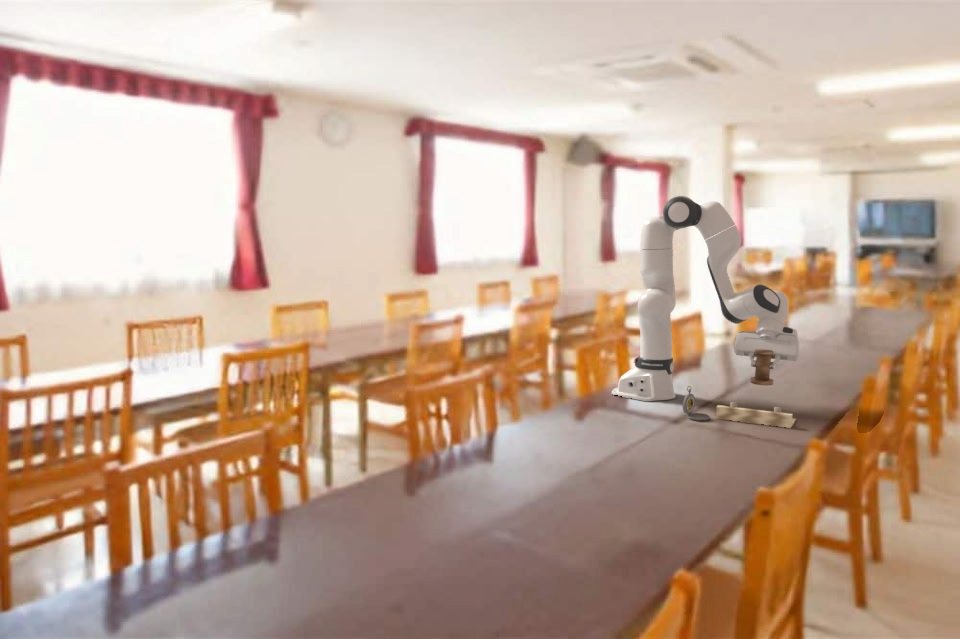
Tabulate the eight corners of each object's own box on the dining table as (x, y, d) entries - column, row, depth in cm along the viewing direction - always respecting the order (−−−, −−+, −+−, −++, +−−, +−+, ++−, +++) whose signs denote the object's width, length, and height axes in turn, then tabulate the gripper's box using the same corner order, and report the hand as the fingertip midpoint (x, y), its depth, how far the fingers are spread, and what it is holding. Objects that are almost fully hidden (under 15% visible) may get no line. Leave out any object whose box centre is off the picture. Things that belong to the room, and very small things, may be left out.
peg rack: (716, 418, 224) (716, 403, 223) (723, 411, 233) (723, 396, 232) (791, 428, 213) (791, 412, 212) (795, 420, 221) (796, 404, 221)
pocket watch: (710, 422, 221) (711, 390, 219) (683, 420, 222) (683, 389, 221) (707, 415, 229) (708, 384, 227) (681, 414, 230) (681, 384, 229)
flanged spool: (748, 383, 231) (750, 351, 229) (752, 379, 237) (754, 347, 235) (771, 386, 227) (773, 353, 225) (774, 382, 233) (777, 350, 231)
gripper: (736, 325, 240) (728, 357, 234) (801, 330, 230) (795, 365, 223) (738, 336, 245) (730, 368, 238) (802, 342, 234) (796, 376, 228)
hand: (762, 367), depth 230 cm, fingers closed on flanged spool, 4 cm apart
